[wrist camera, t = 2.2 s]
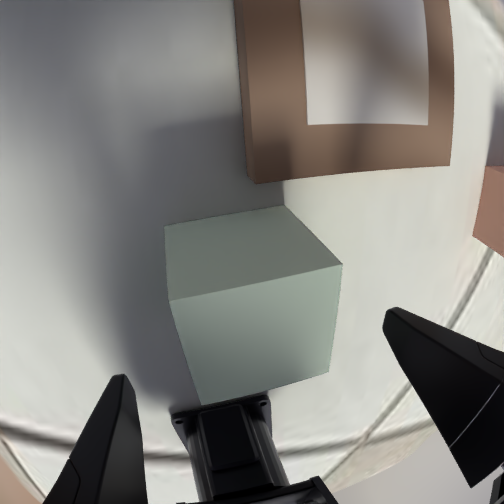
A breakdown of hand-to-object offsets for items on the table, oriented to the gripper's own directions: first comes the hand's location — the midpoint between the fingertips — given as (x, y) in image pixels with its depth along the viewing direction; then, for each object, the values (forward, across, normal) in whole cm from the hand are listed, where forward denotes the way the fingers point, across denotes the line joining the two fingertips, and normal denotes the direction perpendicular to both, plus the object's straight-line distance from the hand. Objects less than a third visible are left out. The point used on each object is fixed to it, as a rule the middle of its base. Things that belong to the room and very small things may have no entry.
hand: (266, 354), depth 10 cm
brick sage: (+5, 0, 0) cm, 5 cm away
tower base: (+5, -6, -9) cm, 12 cm away
